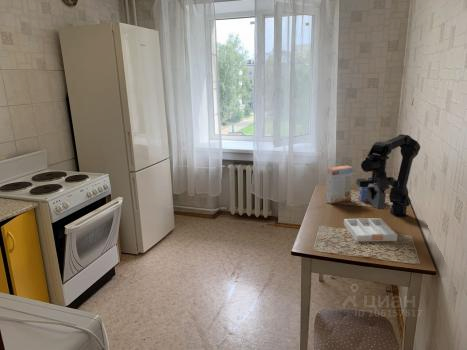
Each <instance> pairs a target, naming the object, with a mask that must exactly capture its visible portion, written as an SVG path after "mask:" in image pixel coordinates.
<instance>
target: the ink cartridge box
mask: <svg viewBox="0 0 467 350" xmlns="http://www.w3.org/2000/svg"><path fill="white" fill-rule="evenodd" d="M366 180H367V181H371V177H368V178H367V179H366ZM375 186H377V187H378V185H375ZM378 188H379V187H378ZM367 192H368V188H367V187H359V194H358V199H359V200H360V202H364V203H365V202H366V201H367V202H368V200H367Z"/></svg>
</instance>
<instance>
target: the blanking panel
mask: <svg viewBox="0 0 467 350" xmlns="http://www.w3.org/2000/svg"><path fill="white" fill-rule="evenodd" d="M373 187H374V188H375V189H374V197H373V200H372V199H371V196H370V193H369V190H368V192H367V200H368V201H369V203H370V204H371V205H372V206H373V207H375V208H376V209H377V210H384V209H385V205H386V197H387V195H386V194H387V193H386V192H385V191H384V192H383V191H382V190H381V189H379V188H378V187H377V186H375V185H374V186H373Z"/></svg>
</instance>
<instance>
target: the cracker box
mask: <svg viewBox="0 0 467 350" xmlns="http://www.w3.org/2000/svg"><path fill="white" fill-rule="evenodd" d="M353 169H354V168H353V167H352V166H350V165H347V164H346V165H340V166H332V167H327V168H326V191H325V194H326V195H325V201H326V202H328V203H329V204H338V203H344V202H350V201H352V186H353V185H352V183H353Z"/></svg>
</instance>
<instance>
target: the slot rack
mask: <svg viewBox="0 0 467 350" xmlns="http://www.w3.org/2000/svg"><path fill="white" fill-rule="evenodd" d="M343 226H344V227H345V228H346V229H347V231H348V232H349V233H350V234H351V237H352V238H353V239H354V240H355V241H356V242H357V243H358V242H397V241H398V238H399V237H398V236H399V235H398V234H397V232H396V231H394V230H393V228H391V227H390V226H389V225H388V224H387V223H386V222H385V221H384V220H383V219H382V218H380V217H378V218H368V217H366V218H365V217H361V218H360V217H358V218H344V220H343Z"/></svg>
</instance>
